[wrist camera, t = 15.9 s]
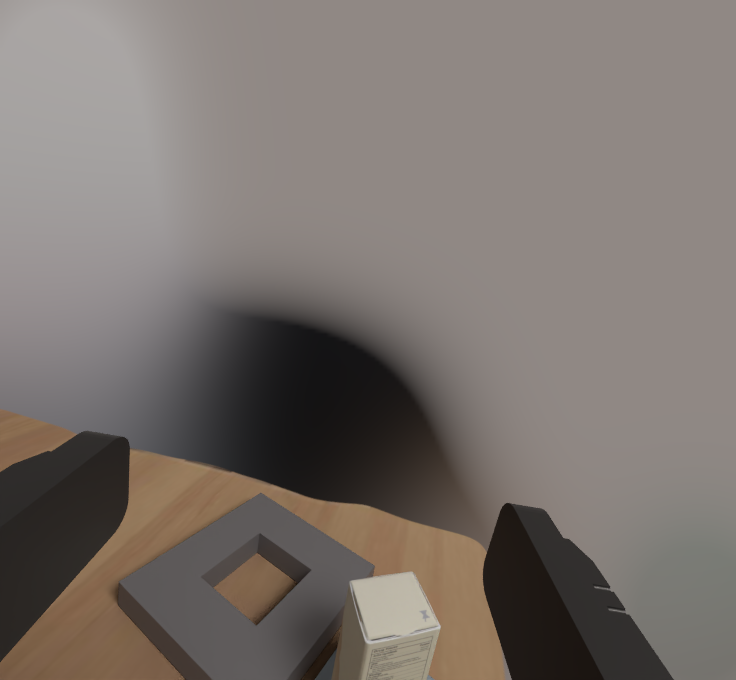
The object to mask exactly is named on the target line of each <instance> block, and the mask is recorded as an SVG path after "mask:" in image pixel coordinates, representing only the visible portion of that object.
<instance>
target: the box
mask: <svg viewBox="0 0 736 680" xmlns="http://www.w3.org/2000/svg"><path fill="white" fill-rule="evenodd" d="M439 632H440V624H439V622H438V620H437V618H436V616H435V614H434V612H433V610H432V608H431V605H430V604H429V601H428V599H427V597H426V595H425V593H424V592H423V589H422V587H421V586H420V584H419V582H418V580H417V578H416V576H415V574H414V573H413V572H404V573H396V574H389V575H382V576H376V577H370V578H364V579H358V580H352V581H350V582H349V586H348V591H347V597H346V602H345V608H344V613H343V619H342V625H341V630H340V635H339V641H338V647H337V652H336V658H335V663H334V668H333V673H332V679H331V680H427V676H428V673H429V669H430V665H431V661H432V658H433V654H434V650H435V646H436V643H437V639H438V635H439Z"/></svg>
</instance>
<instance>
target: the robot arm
mask: <svg viewBox="0 0 736 680" xmlns="http://www.w3.org/2000/svg"><path fill="white" fill-rule="evenodd" d="M129 456H130V446H129V442H128V440H127V439H126V438H125V437H120V436H114V435H108V434H103V433H97V432H90V431H84V432H81V433H79V434H78V435H76V436H75V437H73V438H72V439H70V440H68V441H67V442H65V443H64V444H62V445H61V446H59V447H58V448H56V449H55V450H53V451H52V452H51V451H47V452H44V453H41V454H39V455H36V456H33V457H31V458H28V459H26V460H23V461H20V462H18V463H15V464H13V465H11V466H9V467H8V468H6V469H5V470H3V471H1V472H0V662H1V661H2V659H3V658H4V657H5V656H6V655H7V654H8V653H9V652H10V650H11V649H12V648H13V647H14V646H15V645H16V644H17V642H18V641H19V640H20V639H21V638H22V637H23V636H24V635H25V633H26V632H27V631H28V630H29V629H30V628H31V627H32V626H33V624H34V623H35V622H36V621H37V620H38V619H39V618H40V617H41V615H42V614H43V613H44V612H45V611H46V610H47V609H48V608H49V606H50V605H51V604H52V603H53V602H54V601H55V600H56V599H57V597H58V596H59V595H60V594H61V593H62V592H63V591H64V590H65V588H66V587H67V586H68V585H69V584H70V583H71V582H72V580H73V579H74V578H75V577H76V576H77V575H78V574H79V573H80V571H81V570H82V569H83V568H84V567H85V566H86V565H87V564H88V562H89V561H90V560H91V559H92V558H93V557H94V556H95V555H96V553H97V552H98V551H99V550H100V549H101V548H102V547H103V546H104V544H105V543H106V542H107V541H108V540H109V539H110V538H111V537H112V535H113V534H114V533H115V532H116V530H117V529H118V527H119V526H120V524H121V522H122V520H123V518H124V515H125V512H126V509H127V505H128V494H129ZM483 585H484V591H485V595H486V599H487V602H488V605H489V608H490V611H491V615H492V618H493V621H494V624H495V627H496V630H497V634H498V637H499V640H500V643H501V646H502V650H503V653H504V656H505V659H506V662H507V665H508V668H509V672H510V675H511V678H512V680H674V679H673V678H672V677H671V675H670V674H669V672H668V671H667V669H666V668H665V666H664V665H663V663H662V662H661V660H660V659H659V657H658V656H657V655H656V653H655V652H654V650H653V649H652V648H651V646H650V644H649V643H648V641H647V640H646V639H645V637H644V635H643V634H642V633H641V631H640V630H639V628H638V627H637V625H636V624H635V622H634V621H633V619H632V618H631V616H630V615H627V614H626V613H625V608H624V606H623V605H622V603H621V602H620V601H619V599H618V597H617V596H616V595H615V593H614V592H611V591H610V586H609V584H608V583H607V581H606V580H605V578H604V577H603V576H602V574H601V573H600V571H599V570H598V568H597V567H596V565H595V564H594V562H593V561H592V560H591V559H590V558H589V557H587V555H585V554H584V553H583V552H582V551H581V550H580V549H579V548H578V547H577V546H576V545H575V544H574V543H573V542H571V541H570V540H569V539H565V538H563V537H562V535H561V534H560V532H559V531H558V529H557V528H556V526H555V525H554V523H553V521H552V520H551V518H550V517H549V515H548V514H547V512H546V511H545V510H543V509H540V508H534V507H528V506H522V505H516V504H510V503H506V504H505V505H504V506H503V507H502V509H501V511H500V514H499V517H498V520H497V523H496V526H495V529H494V533H493V536H492V539H491V542H490V545H489V548H488V551H487V555H486V558H485V561H484V568H483Z"/></svg>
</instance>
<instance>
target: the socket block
mask: <svg viewBox="0 0 736 680" xmlns="http://www.w3.org/2000/svg"><path fill="white" fill-rule="evenodd" d="M256 553H259V554H260V555H261V556H263V557H264V558H265V559H267V560H268V561H269V562H271V563H272V564H273V565H275V566H276V567H277V568H279V569H280V570H281V571H283V572H284V573H285V574H287V575H288V576H289V577H291V578H292V579H293V580H295V581H296V582H297V583H298V584H297V585H296V586H295V587H294V588H293V589H292V590H291V591H290V592H289V593H288V594H287V595H286V596H285V598H284V599H283V600H282V601H281V602H280V603H279V604H278V605H277V606H276V607H275V608H274V609H273V610H272V611H271V612H270V613H269V614H268V615H267V616H266V617H265V618H264V619H263V620H262V621H261V622H260V623H259V624H258V625H257V626H256V625H255V624H254V623H253V622H252V621H250V620H249V619H248V618H247V617H246V616H245V615H244V614H242V613H241V612H240V611H239V610H238V609H237V608H236V607H234V606H233V605H232V604H231V603H230V602H229V601H228V600H226V599H225V598H224V597H223V596H222V595H221V594H220V593H218V592H217V591H216V590H215V589H214V588H213V587H214V586H216V585H217V584H218V583H219V582H221V581H222V580H223V579H224V578H226V577H227V576H228V575H229V574H231V573H232V572H233V571H234V570H236V569H237V568H238V567H239V566H241V565H242V564H243V563H244V562H246V561H247V560H248V559H249V558H251V557H252V556H253V555H254V554H256ZM374 568H375V566H374V565H373V564H371V563H370V562H368V561H366V560H365V559H363V558H362V557H360V556H359V555H357V554H356V553H354V552H352V551H351V550H349V549H348V548H346V547H345V546H343V545H342V544H340V543H338V542H337V541H335V540H334V539H332V538H331V537H329V536H328V535H326V534H324V533H323V532H321V531H320V530H318V529H317V528H315V527H314V526H312V525H310V524H309V523H307V522H306V521H304V520H303V519H301V518H299V517H298V516H296V515H295V514H293V513H292V512H290V511H289V510H287V509H285V508H284V507H282V506H281V505H279V504H278V503H276V502H275V501H273V500H271V499H270V498H268V497H267V496H265V495H264V494H262V493H260V494H258V495H257V496H255V497H253V498H252V499H250V500H249V501H247V502H245V503H244V504H242V505H241V506H239V507H237V508H236V509H234V510H233V511H231V512H229V513H228V514H226V515H225V516H223V517H222V518H220V519H218V520H217V521H215V522H214V523H212V524H210V525H209V526H207V527H206V528H204V529H202V530H201V531H199V532H198V533H196V534H194V535H193V536H191V537H190V538H188V539H186V540H185V541H183V542H182V543H180V544H178V545H177V546H175V547H174V548H172V549H170V550H169V551H167V552H166V553H164V554H162V555H161V556H159V557H158V558H156V559H154V560H153V561H151V562H150V563H148V564H146V565H145V566H143V567H142V568H140V569H139V570H137V571H135V572H134V573H132V574H131V575H129V576H127V577H126V578H124V579H123V580H121V581H119V594H118V605H119V607H120V608H121V609H122V610H123V611H124V612H125V613H126V614H127V615H128V616H129V618H130V619H131V620H132V621H133V622H134V623H135V624H136V625H137V626H138V627H139V629H140V630H141V631H142V632H143V633H144V634H145V635H146V636H147V637H148V638H149V639H150V641H151V642H152V643H153V644H154V645H155V646H156V647H157V648H158V649H159V650H160V652H161V653H162V654H163V655H164V656H165V657H166V658H167V659H168V660H169V661H170V663H171V664H172V665H173V666H174V667H175V668H176V669H177V670H178V671H179V672H180V673H181V675H182V676H183V677H184V678H185V679H186V680H301V679H302V677H303V676H304V675H305V673H306V672H307V671H308V669H309V668H310V667H311V665H312V664H313V663H314V661H315V660H316V659H317V657H318V656H319V655H320V653H321V652H322V651H323V649H324V648H325V646H326V645H327V644H328V642H329V641H330V640H331V638H332V637H333V636H334V634H335V633H336V632H337V630H338V629H339V628H340V626H341V625H342V619H343V613H344V608H345V602H346V597H347V591H348V586H349V582H350V581H352V580H358V579H364V578H370V577H373V573H374Z"/></svg>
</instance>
